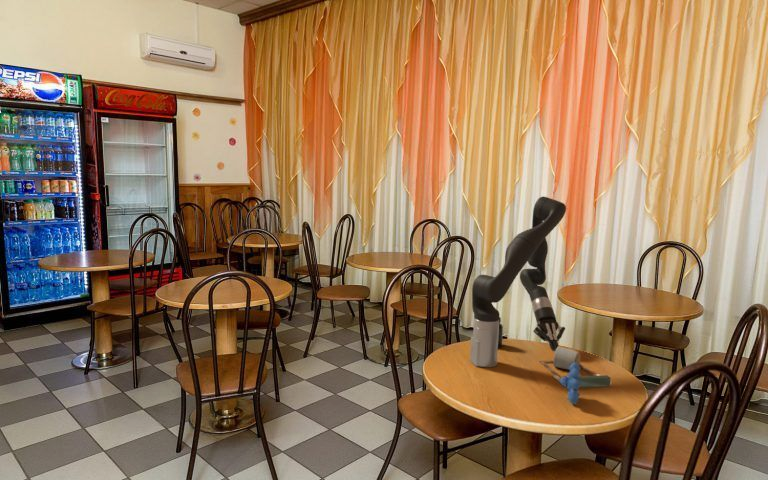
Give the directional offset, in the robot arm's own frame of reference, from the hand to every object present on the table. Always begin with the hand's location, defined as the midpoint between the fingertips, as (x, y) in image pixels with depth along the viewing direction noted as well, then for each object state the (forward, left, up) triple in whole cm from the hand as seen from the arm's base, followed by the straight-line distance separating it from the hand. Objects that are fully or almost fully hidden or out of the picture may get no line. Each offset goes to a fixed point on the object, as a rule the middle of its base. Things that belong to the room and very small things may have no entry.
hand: (555, 350), depth 188 cm
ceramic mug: (0, -8, -4) cm, 9 cm away
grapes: (-15, -33, -4) cm, 36 cm away
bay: (-1, -13, -4) cm, 14 cm away
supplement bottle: (-17, +19, -4) cm, 26 cm away
